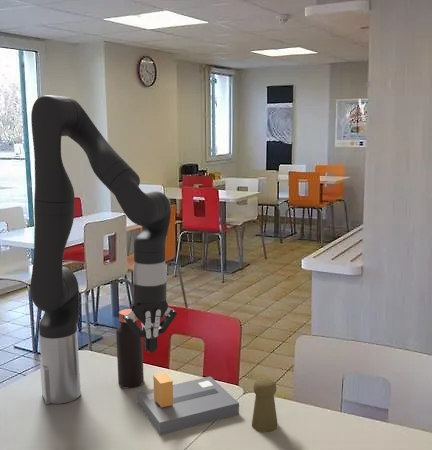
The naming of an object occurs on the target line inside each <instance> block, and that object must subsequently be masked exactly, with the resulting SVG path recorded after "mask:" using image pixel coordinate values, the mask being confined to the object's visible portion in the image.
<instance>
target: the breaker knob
mask: <svg viewBox="0 0 432 450" xmlns="http://www.w3.org/2000/svg"><path fill="white" fill-rule="evenodd" d="M173 382H174V381H173V380H172V378H170V376H168V374H167V373H166V372H163V373H158V374H157V373H156V374H153V389H154V399H155V400H156V402H157V403H158V404H159V405H160V407H161V408H162V407H166V406H170V405H173V385H174V384H173Z"/></svg>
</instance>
